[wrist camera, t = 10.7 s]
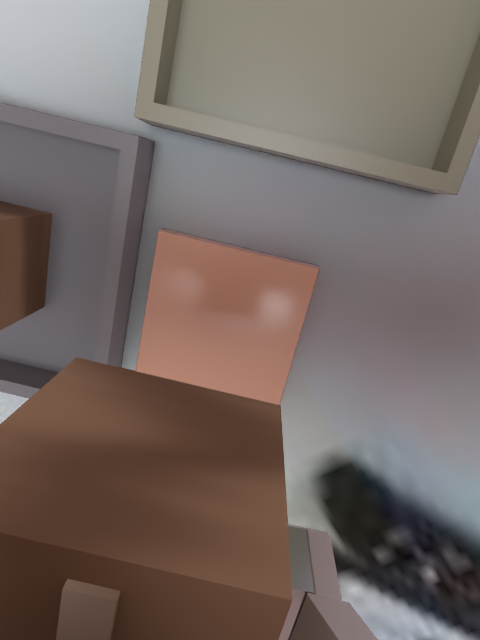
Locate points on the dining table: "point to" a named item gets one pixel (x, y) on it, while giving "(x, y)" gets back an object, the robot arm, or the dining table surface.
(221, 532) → the letter cube
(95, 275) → the tray charcoal
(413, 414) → the dining table surface
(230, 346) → the terracotta tile
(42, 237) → the plain block
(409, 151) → the tray olive
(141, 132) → the dining table surface
